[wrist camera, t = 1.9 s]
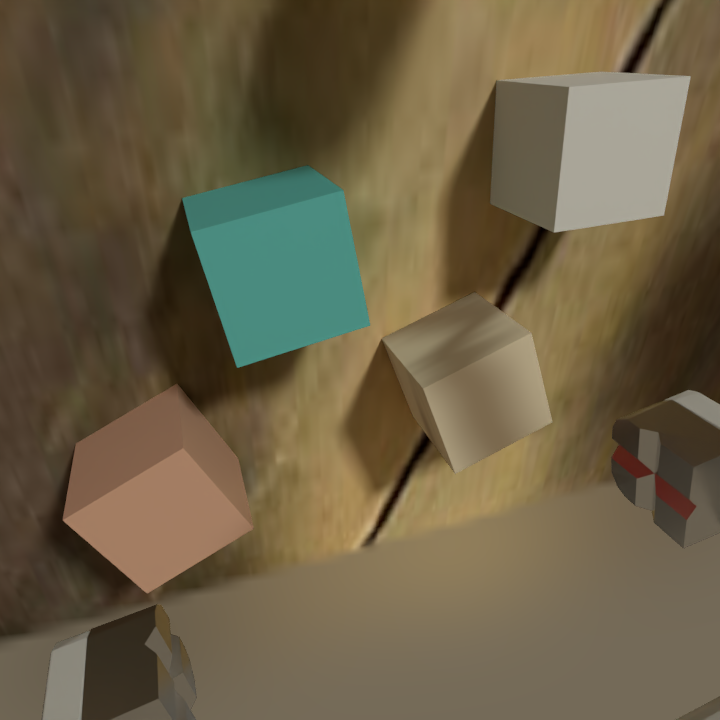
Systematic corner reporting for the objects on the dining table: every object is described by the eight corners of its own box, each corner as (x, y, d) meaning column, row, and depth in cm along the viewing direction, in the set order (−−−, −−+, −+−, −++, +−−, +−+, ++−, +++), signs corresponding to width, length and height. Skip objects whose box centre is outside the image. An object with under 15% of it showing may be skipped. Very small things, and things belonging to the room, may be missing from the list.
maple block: (473, 291, 29) (531, 332, 24) (497, 371, 31) (552, 422, 27) (381, 337, 28) (423, 388, 24) (412, 415, 31) (455, 474, 26)
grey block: (600, 71, 26) (690, 76, 21) (585, 190, 28) (663, 215, 24) (495, 80, 24) (569, 86, 20) (489, 203, 27) (553, 232, 22)
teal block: (307, 164, 24) (343, 190, 19) (333, 280, 26) (370, 325, 22) (182, 197, 23) (190, 232, 18) (221, 314, 25) (237, 367, 21)
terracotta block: (177, 382, 26) (183, 447, 22) (237, 457, 29) (253, 528, 24) (76, 442, 26) (62, 520, 21) (146, 512, 28) (147, 593, 24)
